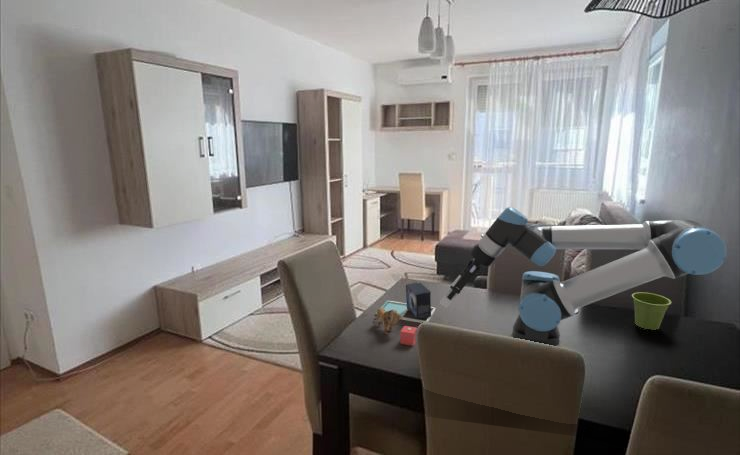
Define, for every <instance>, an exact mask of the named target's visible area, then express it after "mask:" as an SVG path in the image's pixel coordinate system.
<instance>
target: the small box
mask: <svg viewBox="0 0 740 455" xmlns="http://www.w3.org/2000/svg"><path fill="white" fill-rule="evenodd" d="M405 292H406V293H405V294H406V295H405V296H406V303H407V309H408V311H409V312H410V313H411V314H412V316H414V317H415V318H414V319H417V320H422V319H427V318H428V317H431V312H432V310H431V307H432V306H431V303H432V302H431V301H432V300H431V293H432V292H431V290H429V289H428V288H427V287H426V286H425V285H424V284H423V283H421V282H420V281H417V282H412V283H407V284H405ZM431 318H432V317H431Z"/></svg>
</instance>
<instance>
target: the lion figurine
mask: <svg viewBox="0 0 740 455" xmlns="http://www.w3.org/2000/svg"><path fill="white" fill-rule="evenodd" d="M376 312H377V315H376V317H375V318H373V321H376V324H375V326H376V327H380V323H383V328H384V329H383V330H384V333H383V334H388V330H389V332H394V329H393V326H395V325H396V324H397V323H398V321H400V320H401V319H400V318H401V315H400V314H398V313H397V310H390V311H386V312H385V309H384V308H381V307H379V308H378V309H377V311H376ZM388 326H389V327H388ZM388 328H389V329H388Z"/></svg>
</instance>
